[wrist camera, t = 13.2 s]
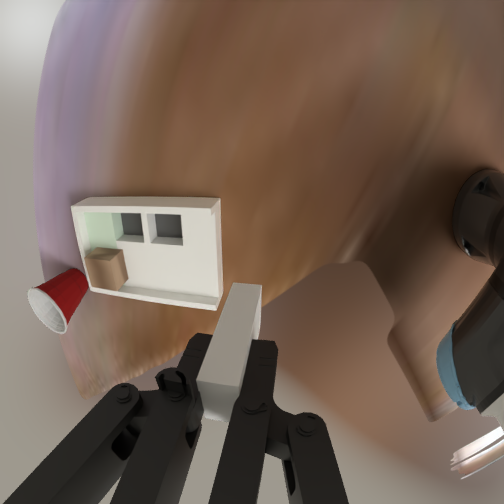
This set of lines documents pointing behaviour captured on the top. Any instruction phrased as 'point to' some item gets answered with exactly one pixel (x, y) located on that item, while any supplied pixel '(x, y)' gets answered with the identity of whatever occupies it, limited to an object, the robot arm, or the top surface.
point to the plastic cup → (58, 299)
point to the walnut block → (106, 268)
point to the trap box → (158, 246)
